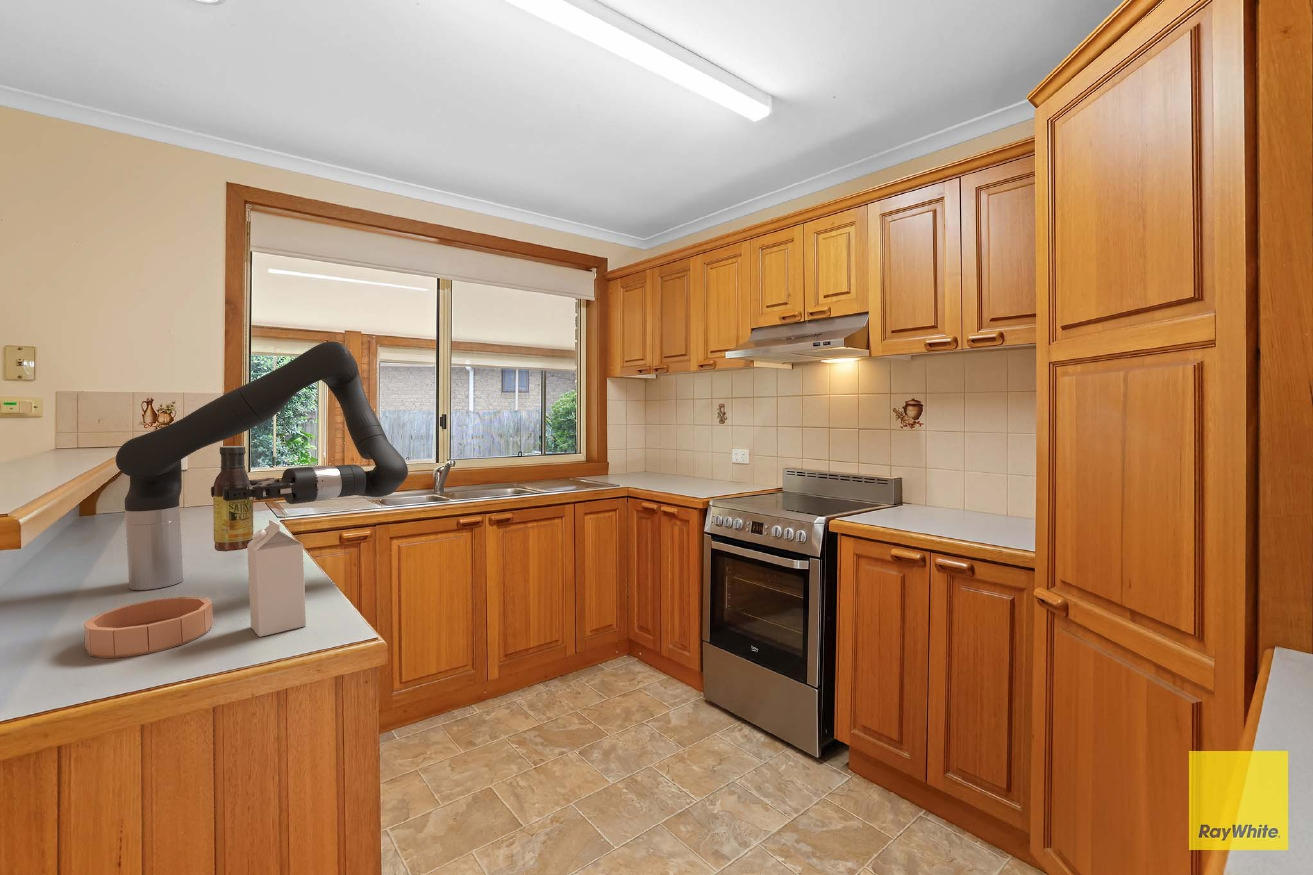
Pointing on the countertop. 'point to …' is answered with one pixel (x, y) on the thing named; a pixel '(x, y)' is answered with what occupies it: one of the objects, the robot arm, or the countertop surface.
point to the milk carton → (276, 581)
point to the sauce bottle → (232, 503)
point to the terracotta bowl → (147, 627)
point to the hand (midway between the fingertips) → (217, 493)
